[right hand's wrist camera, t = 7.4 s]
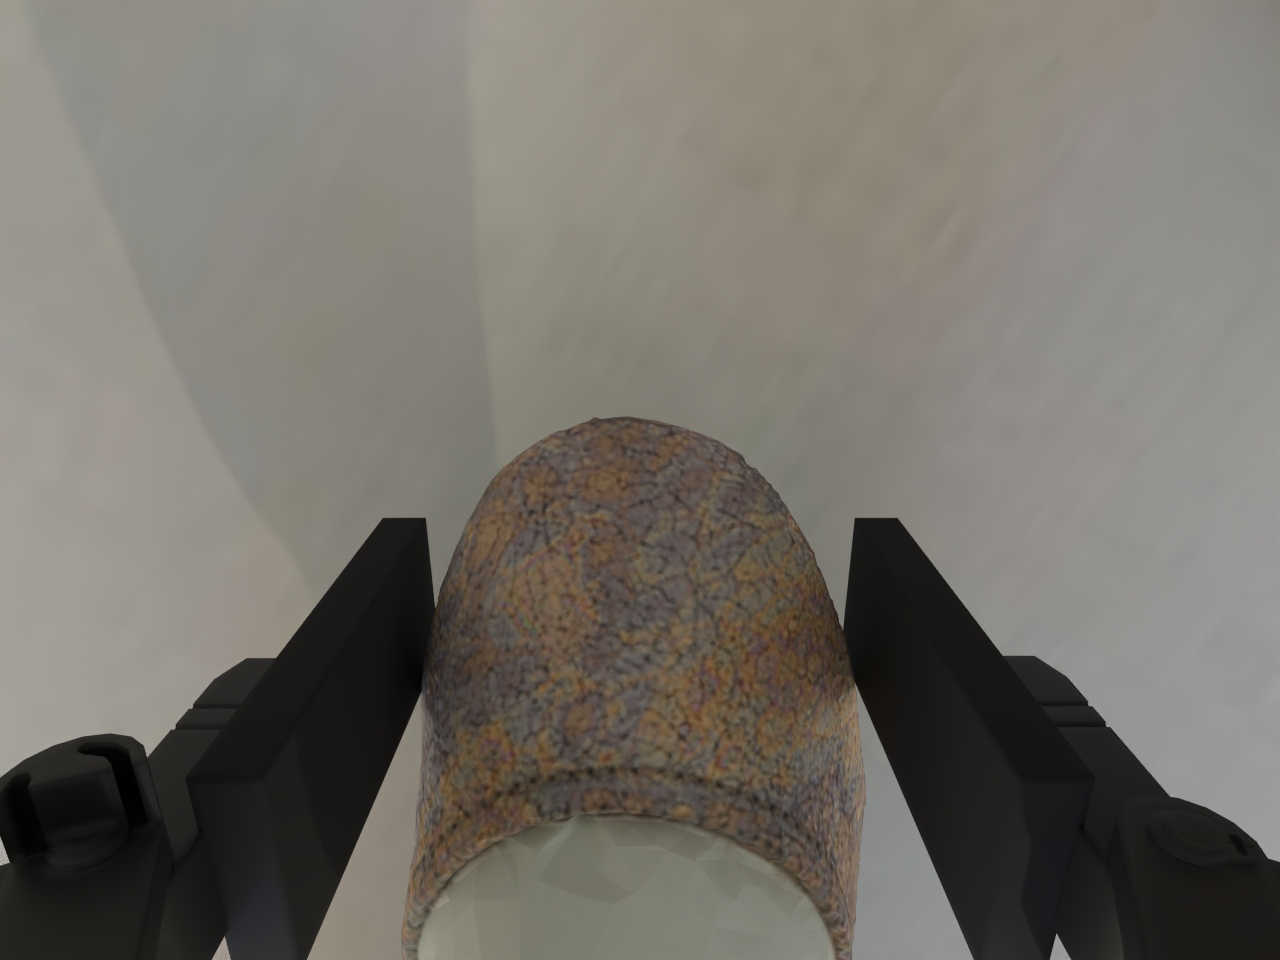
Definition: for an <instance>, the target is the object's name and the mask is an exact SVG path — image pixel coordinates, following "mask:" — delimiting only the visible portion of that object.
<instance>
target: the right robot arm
mask: <svg viewBox="0 0 1280 960" xmlns="http://www.w3.org/2000/svg"><path fill="white" fill-rule="evenodd" d="M434 612H435V603H434V593H433V584H432V574H431V564H430V555H429V545H428V536H427V526H426V518H383V519H382V520H381V521H380V523H379V524H378V525H377V527H376V528H375V529H374V531H373V532H372V533H371V535H370V536H369V537H368V538H367V540H366V541H365V542H364V544H363V545H362V546H361V548H360V549H359V550H358V552H357V553H356V554H355V556H354V557H353V558H352V559H351V561H350V562H349V563H348V565H347V566H346V567H345V569H344V570H343V571H342V573H341V574H340V575H339V577H338V578H337V579H336V580H335V582H334V583H333V584H332V586H331V587H330V588H329V590H328V591H327V592H326V594H325V595H324V596H323V597H322V599H321V600H320V601H319V603H318V604H317V605H316V607H315V608H314V609H313V611H312V612H311V613H310V615H309V616H308V617H307V618H306V620H305V621H304V622H303V624H302V625H301V626H300V628H299V629H298V630H297V632H296V633H295V634H294V635H293V637H292V638H291V639H290V641H289V642H288V643H287V645H286V646H285V647H284V649H283V650H282V651H281V653H280V654H279V655H278V656H277V658H246V659H245V660H243V661H242V662H240V663H239V664H237V665H236V666H234V667H233V668H231V669H229V670H228V671H226V672H225V673H223V674H222V675H220V676H219V677H217V678H216V679H214V680H213V681H212V683H211V684H210V685H209V686H208V687H207V689H206V690H205V691H204V692H203V693H202V694H201V696H200V697H199V698H198V699H197V700H196V701H195V703H194V704H193V709H189V710H188V711H187V712H186V713H185V714H184V715H183V717H182V718H181V719H180V720H179V721H178V722H177V724H176V728H175V730H171V731H170V732H169V733H168V734H167V735H166V736H165V738H164V739H163V740H162V741H161V742H160V744H159V745H158V746H157V747H156V748H155V749H154V751H153V752H152V753H151V754H150V755H149V756H148V758H147V756H146V752H145V749H144V746H143V745H142V744H141V743H139V742H138V741H137V740H135V739H134V738H133V737H131V736H124V735H117V734H111V733H110V734H101V735H92V736H84V737H80V738H77V739H74V740H70V741H67V742H64V743H60V744H57V745H54V746H52V747H50V748H48V749H46V750H43V751H41V752H39V753H37V754H35V755H33V756H31V757H29V758H27V759H25V760H24V761H22V762H21V763H19V764H18V765H17V766H15V767H14V768H13V769H11V770H10V771H9V772H7V773H6V774H4V775H3V776H2V777H0V837H1V839H2V842H3V845H4V848H5V850H6V853H7V856H8V859H9V861H10V863H7V864H4V865H1V866H0V960H212V958H213V956H214V954H215V952H216V951H217V949H218V947H219V945H220V943H221V942H222V940H223V938H224V936H225V938H226V942H227V946H228V950H229V954H230V958H231V960H307V958H308V955H309V953H310V951H311V948H312V946H313V944H314V941H315V939H316V937H317V934H318V932H319V930H320V927H321V925H322V923H323V920H324V918H325V916H326V913H327V911H328V909H329V906H330V904H331V902H332V899H333V897H334V895H335V892H336V890H337V887H338V885H339V883H340V880H341V878H342V876H343V873H344V871H345V869H346V866H347V864H348V862H349V859H350V857H351V855H352V852H353V850H354V848H355V845H356V843H357V841H358V838H359V836H360V834H361V831H362V829H363V827H364V824H365V822H366V820H367V817H368V815H369V813H370V810H371V808H372V806H373V803H374V801H375V799H376V796H377V794H378V792H379V789H380V787H381V785H382V782H383V780H384V778H385V775H386V773H387V771H388V768H389V766H390V764H391V761H392V759H393V757H394V754H395V752H396V750H397V747H398V745H399V743H400V740H401V738H402V736H403V733H404V731H405V729H406V726H407V724H408V722H409V719H410V717H411V715H412V712H413V710H414V708H415V705H416V703H417V701H418V698H419V696H420V694H421V683H422V674H423V666H424V659H425V653H426V648H427V642H428V637H429V633H430V628H431V624H432V620H433V615H434ZM843 633H844V635H845V638H846V643H847V648H848V653H849V658H850V663H851V667H852V671H853V675H854V680H855V683H856V685H857V688H858V690H859V692H860V695H861V697H862V699H863V702H864V704H865V706H866V709H867V711H868V713H869V716H870V718H871V720H872V723H873V725H874V727H875V730H876V732H877V734H878V737H879V739H880V741H881V744H882V746H883V748H884V751H885V753H886V755H887V758H888V760H889V762H890V765H891V767H892V769H893V772H894V774H895V776H896V779H897V781H898V783H899V786H900V788H901V790H902V793H903V795H904V797H905V800H906V802H907V804H908V807H909V809H910V811H911V814H912V816H913V818H914V821H915V823H916V825H917V828H918V830H919V832H920V835H921V837H922V839H923V842H924V844H925V847H926V849H927V851H928V854H929V856H930V858H931V861H932V863H933V865H934V868H935V870H936V872H937V875H938V877H939V879H940V882H941V884H942V886H943V889H944V891H945V893H946V896H947V898H948V900H949V903H950V905H951V907H952V910H953V912H954V914H955V917H956V919H957V921H958V924H959V926H960V928H961V931H962V933H963V935H964V938H965V940H966V942H967V945H968V947H969V949H970V952H971V954H972V956H973V959H974V960H1050V956H1051V952H1052V948H1053V944H1054V940H1055V937H1056V933H1057V935H1058V937H1059V938H1060V940H1061V942H1062V944H1063V946H1064V947H1065V949H1066V951H1067V953H1068V955H1069V956H1070V958H1071V960H1280V862H1278V861H1274V860H1271V859H1268V858H1267V856H1266V855H1265V853H1264V852H1263V851H1262V849H1261V848H1260V846H1259V845H1258V843H1257V842H1256V841H1255V840H1254V839H1253V838H1251V837H1250V836H1249V835H1248V834H1247V833H1245V832H1244V831H1243V830H1242V829H1241V828H1239V827H1238V826H1237V825H1236V824H1235V823H1233V822H1231V821H1230V820H1228V819H1226V818H1224V817H1222V816H1221V815H1219V814H1217V813H1215V812H1213V811H1211V810H1210V809H1208V808H1206V807H1203V806H1200V805H1197V804H1194V803H1191V802H1188V801H1185V800H1182V799H1179V798H1174V797H1170V796H1169V795H1168V794H1167V793H1166V791H1165V790H1164V789H1163V788H1162V787H1161V786H1160V785H1159V783H1158V782H1157V781H1156V780H1155V779H1154V778H1153V776H1152V775H1151V774H1150V773H1149V772H1148V771H1147V769H1146V768H1145V767H1144V766H1143V765H1142V764H1141V762H1140V761H1139V760H1138V759H1137V758H1136V757H1135V755H1134V754H1133V753H1132V752H1131V751H1130V750H1129V748H1128V747H1127V746H1126V745H1125V744H1124V743H1123V742H1122V740H1121V739H1120V738H1119V737H1118V736H1117V735H1116V733H1115V732H1114V731H1113V730H1112V729H1111V728H1110V727H1106V722H1105V721H1104V719H1103V718H1102V717H1101V716H1100V715H1099V714H1098V712H1097V711H1096V710H1095V709H1094V708H1093V707H1092V706H1088V701H1087V700H1086V699H1085V697H1084V696H1083V695H1082V694H1081V693H1080V692H1079V690H1078V689H1077V688H1076V687H1075V686H1074V685H1073V683H1072V682H1071V681H1070V680H1069V679H1068V678H1067V677H1066V676H1065V675H1063V674H1062V673H1060V672H1059V671H1057V670H1055V669H1054V668H1052V667H1051V666H1049V665H1048V664H1046V663H1045V662H1043V661H1042V660H1040V659H1038V658H1037V657H1035V656H1002V654H1001V653H1000V652H999V650H998V649H997V648H996V646H995V645H994V644H993V643H992V641H991V640H990V639H989V637H988V636H987V635H986V633H985V632H984V631H983V629H982V628H981V627H980V626H979V624H978V623H977V622H976V620H975V619H974V618H973V616H972V615H971V614H970V612H969V611H968V610H967V608H966V607H965V606H964V605H963V603H962V602H961V601H960V599H959V598H958V597H957V595H956V594H955V593H954V591H953V590H952V589H951V588H950V586H949V585H948V584H947V582H946V581H945V580H944V578H943V577H942V576H941V574H940V573H939V572H938V571H937V569H936V568H935V567H934V565H933V564H932V563H931V561H930V560H929V559H928V557H927V556H926V555H925V553H924V552H923V551H922V550H921V548H920V547H919V546H918V544H917V543H916V542H915V540H914V539H913V538H912V536H911V535H910V534H909V533H908V531H907V530H906V529H905V527H904V526H903V525H902V523H901V522H900V521H899V519H898V518H855V522H854V531H853V541H852V551H851V560H850V570H849V579H848V589H847V599H846V608H845V618H844V627H843Z"/></svg>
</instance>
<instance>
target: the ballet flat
mask: <svg viewBox="0 0 1280 960" xmlns="http://www.w3.org/2000/svg"><path fill="white" fill-rule="evenodd" d="M421 699H422V720H423V740H422V764H421V772H420V789H419V795H418V801H417V811H416V829H415V850H414V856H413V861H412V864H411V871H410V878H409V884H408V890H407V897H406V903H405V918H404V923H403V928H402V955H403V960H852V943H853V938H854V924H855V920H856V914H855V910H856V898H857V879H858V874H859V860H860V856H859V850H860V843H861V832H862V823H863V814H864V807H865V804H866V790H865V775H864V767H863V759H862V750H861V746H860V735H859V726H858V714H857V695H856V688H855V680H854V675H853V671H852V667H851V663H850V658H849V653H848V648H847V643H846V638H845V635H844V633H843V630H842V628H841V626H840V624H839V619H838V614H837V612H836V610H835V608H834V605H833V600H832V599H831V598H830V596H829V593H828V589H827V586H826V583H825V580H824V578H823V575H822V573H821V570H820V569H819V567H818V565H817V562H816V559H815V555H814V552H813V551H812V549H811V547H810V546H809V544H808V542H807V540H806V539H805V537H804V535H803V533H802V532H801V530H800V528H799V526H798V524H797V523H796V521H795V520H794V518H793V517H792V515H791V514H790V512H789V510H788V508H787V507H786V505H785V504H784V503H783V502H782V500H781V499H780V496H779V494H778V493H777V492H776V491H775V490H774V489H773V487H772V485H771V484H769V483H768V482H767V481H766V479H765V478H764V476H761V474H760V473H759V472H758V470H757V469H756V468H753V467H749V466H748V465H747V464H746V462H745V460H744V458H743V455H741V454H739V453H737V452H736V451H734V450H732V449H731V448H729V447H727V446H726V445H724V444H723V443H721V442H719V441H717V440H715V439H712V438H710V437H707V436H705V435H702V434H700V433H697V432H694V431H691V430H688V429H685V428H681V427H678V426H674V425H670V424H666V423H662V422H658V421H653V420H647V419H640V418H634V417H615V418H607V419H599V418H593V419H591V420H590V421H588V422H584V423H581V424H579V425H577V426H575V427H572V428H569V429H567V430H564V431H558V432H555V433H553V434H550V435H549V436H547V437H546V438H544V439H542V440H541V441H539V442H538V443H536V444H535V445H533V446H531V447H530V448H528V449H527V450H525V451H524V452H522V453H521V454H519V455H518V456H517V457H516V458H515V459H514V460H513V461H512V462H510V463H509V464H508V465H507V466H505V467H504V468H503V469H502V470H501V471H500V472H499V473H498V475H497V476H496V477H495V478H494V479H493V480H492V481H491V482H490V484H489V486H488V487H487V489H486V491H485V493H484V494H483V496H482V498H481V500H480V501H479V503H478V505H477V507H476V509H475V511H474V512H473V514H472V516H471V517H470V518H469V520H468V522H467V525H466V527H465V530H464V532H463V534H462V537H461V539H460V541H459V542H458V544H457V547H456V549H455V552H454V554H453V557H452V560H451V563H450V565H449V568H448V571H447V574H446V576H445V578H444V581H443V583H442V586H441V588H440V593H439V597H438V603H437V606H436V608H435V612H434V615H433V620H432V624H431V628H430V633H429V637H428V642H427V648H426V653H425V659H424V666H423V674H422V683H421Z"/></svg>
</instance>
